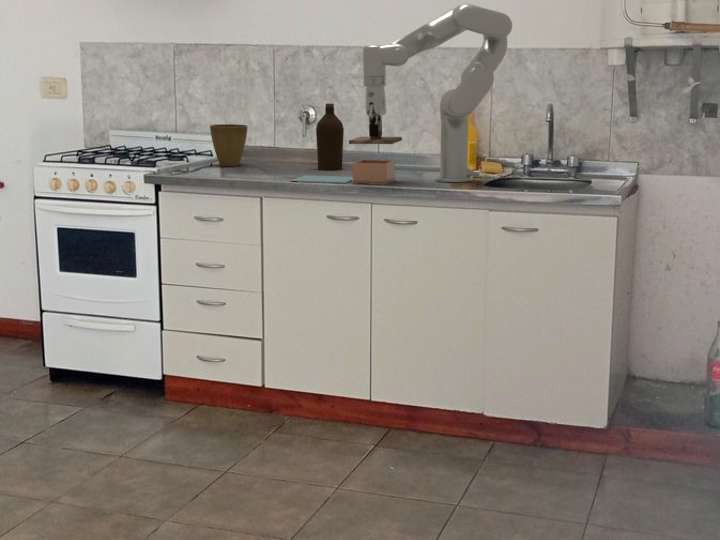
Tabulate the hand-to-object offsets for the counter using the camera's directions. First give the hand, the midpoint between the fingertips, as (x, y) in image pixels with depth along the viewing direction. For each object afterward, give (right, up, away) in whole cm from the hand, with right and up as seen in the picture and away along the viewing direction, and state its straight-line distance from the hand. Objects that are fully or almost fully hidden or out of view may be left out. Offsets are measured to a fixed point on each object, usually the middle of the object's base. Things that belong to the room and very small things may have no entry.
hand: (375, 135), depth 362 cm
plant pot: (-57, -5, +56) cm, 81 cm away
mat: (-18, -15, +8) cm, 24 cm away
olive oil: (-17, -8, +44) cm, 48 cm away
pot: (-1, -16, +3) cm, 16 cm away
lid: (0, -2, 0) cm, 2 cm away
